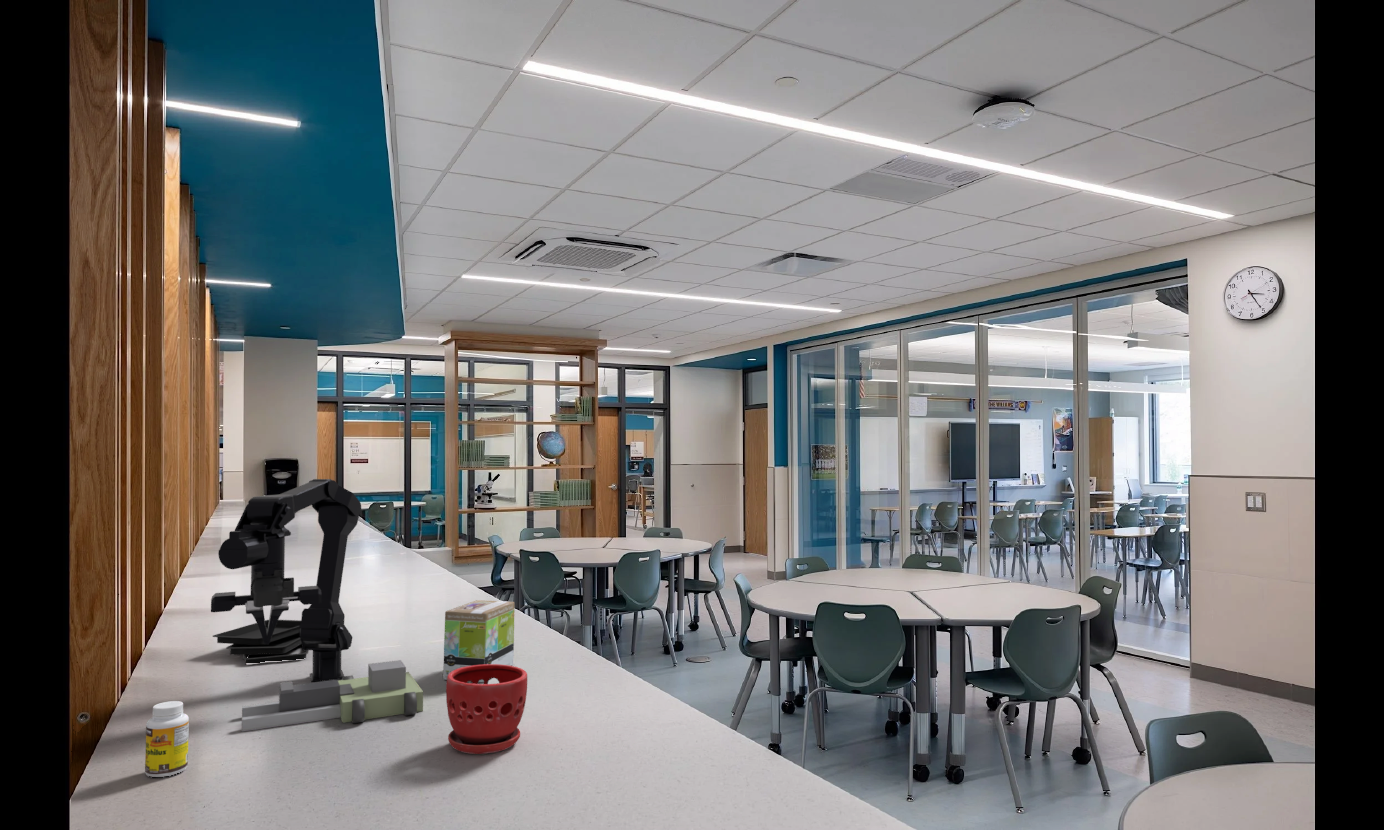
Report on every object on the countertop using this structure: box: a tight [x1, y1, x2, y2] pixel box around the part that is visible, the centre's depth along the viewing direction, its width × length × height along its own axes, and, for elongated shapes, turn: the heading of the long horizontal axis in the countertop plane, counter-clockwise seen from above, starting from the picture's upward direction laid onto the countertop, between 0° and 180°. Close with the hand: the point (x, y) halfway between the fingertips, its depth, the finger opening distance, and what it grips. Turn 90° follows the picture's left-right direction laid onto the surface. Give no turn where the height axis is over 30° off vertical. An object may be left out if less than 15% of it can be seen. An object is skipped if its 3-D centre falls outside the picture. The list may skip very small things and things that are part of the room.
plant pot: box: [445, 664, 528, 755], centre depth 139 cm, size 13×13×12 cm
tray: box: [212, 619, 310, 663], centre depth 205 cm, size 30×23×5 cm
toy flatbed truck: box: [241, 659, 424, 732], centre depth 158 cm, size 22×30×8 cm
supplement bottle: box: [144, 700, 190, 778], centre depth 128 cm, size 6×6×10 cm
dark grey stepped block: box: [278, 679, 340, 712], centre depth 156 cm, size 6×10×6 cm, turn 118°
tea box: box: [442, 599, 515, 683], centre depth 184 cm, size 15×10×15 cm
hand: (266, 643), depth 161 cm, fingers closed
